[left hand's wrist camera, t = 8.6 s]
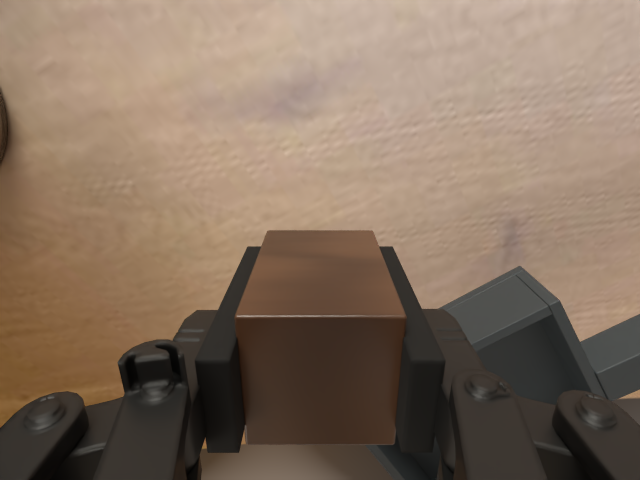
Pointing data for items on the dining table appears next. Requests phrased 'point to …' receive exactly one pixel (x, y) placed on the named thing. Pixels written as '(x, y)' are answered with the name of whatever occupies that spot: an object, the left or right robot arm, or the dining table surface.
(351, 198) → the dining table surface
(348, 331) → the walnut block
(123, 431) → the left robot arm
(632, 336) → the tray
